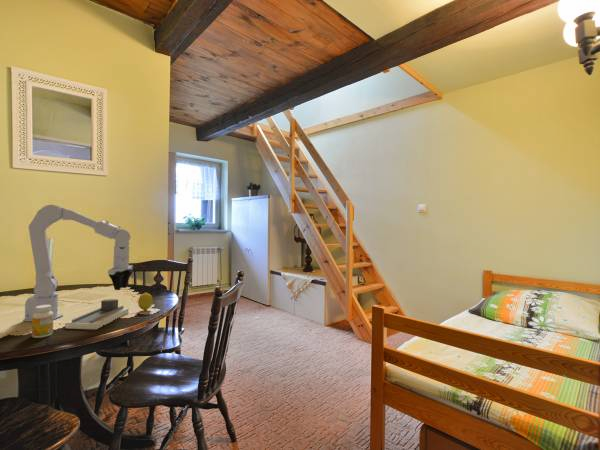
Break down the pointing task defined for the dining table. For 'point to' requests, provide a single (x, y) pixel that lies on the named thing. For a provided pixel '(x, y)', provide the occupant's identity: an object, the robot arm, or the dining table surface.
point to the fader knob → (109, 304)
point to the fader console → (96, 318)
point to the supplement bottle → (42, 321)
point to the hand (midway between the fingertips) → (120, 288)
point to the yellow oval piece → (145, 301)
